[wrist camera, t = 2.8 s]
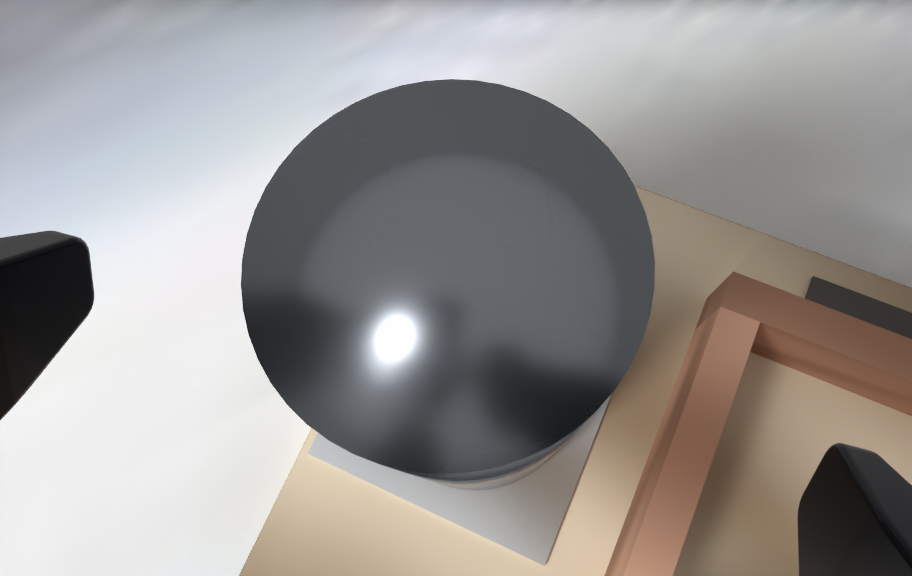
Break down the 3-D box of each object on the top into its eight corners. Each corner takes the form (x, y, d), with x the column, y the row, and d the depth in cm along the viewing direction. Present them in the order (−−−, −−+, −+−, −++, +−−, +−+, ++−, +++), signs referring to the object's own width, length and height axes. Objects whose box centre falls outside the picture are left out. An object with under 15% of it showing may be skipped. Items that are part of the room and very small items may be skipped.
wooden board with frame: (970, 968, 13) (1079, 1075, 11) (240, 588, 16) (192, 604, 13) (1099, 371, 16) (1209, 346, 14) (463, 133, 19) (457, 77, 16)
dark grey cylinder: (528, 525, 15) (561, 551, 7) (343, 439, 16) (166, 366, 8) (604, 337, 16) (712, 158, 8) (427, 265, 17) (353, 30, 9)
